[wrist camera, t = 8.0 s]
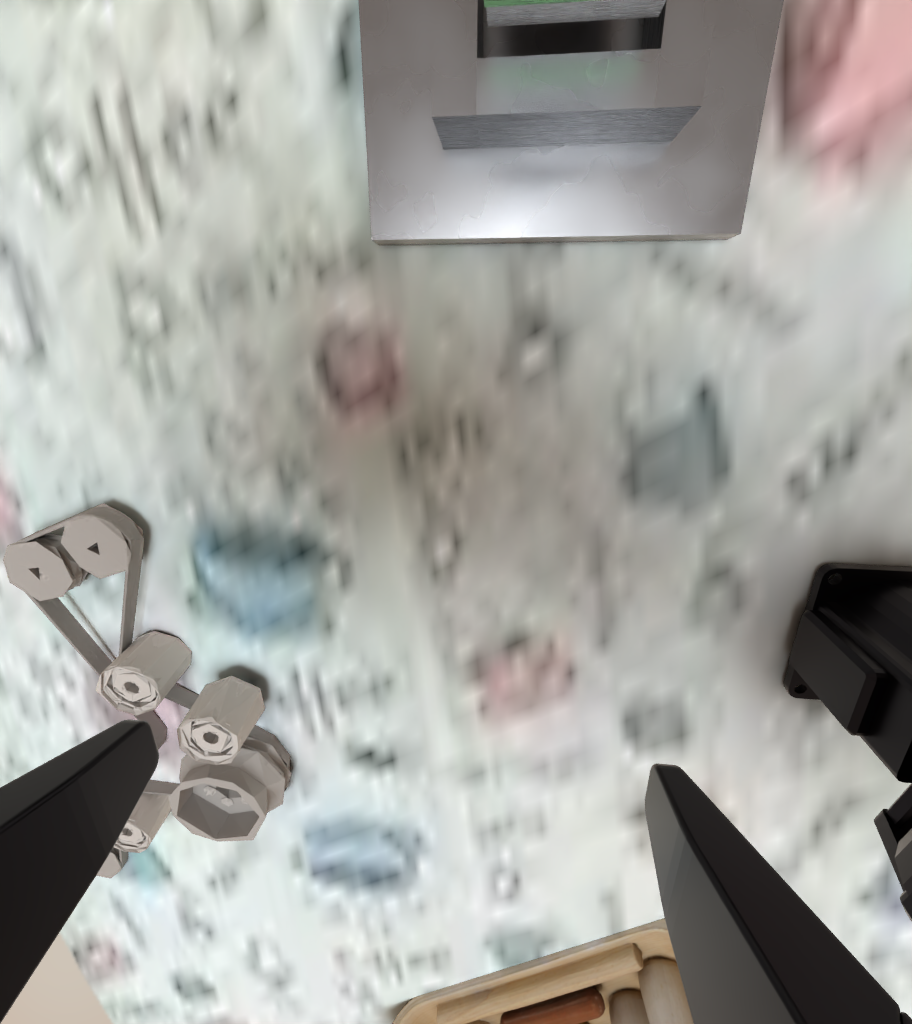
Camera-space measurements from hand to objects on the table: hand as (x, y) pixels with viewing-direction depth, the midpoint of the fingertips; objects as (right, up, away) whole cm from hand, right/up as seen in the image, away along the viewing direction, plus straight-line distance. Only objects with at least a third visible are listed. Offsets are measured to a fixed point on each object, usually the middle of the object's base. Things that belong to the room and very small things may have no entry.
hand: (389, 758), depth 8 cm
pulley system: (-15, -8, +19) cm, 26 cm away
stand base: (+4, +19, +6) cm, 21 cm away
